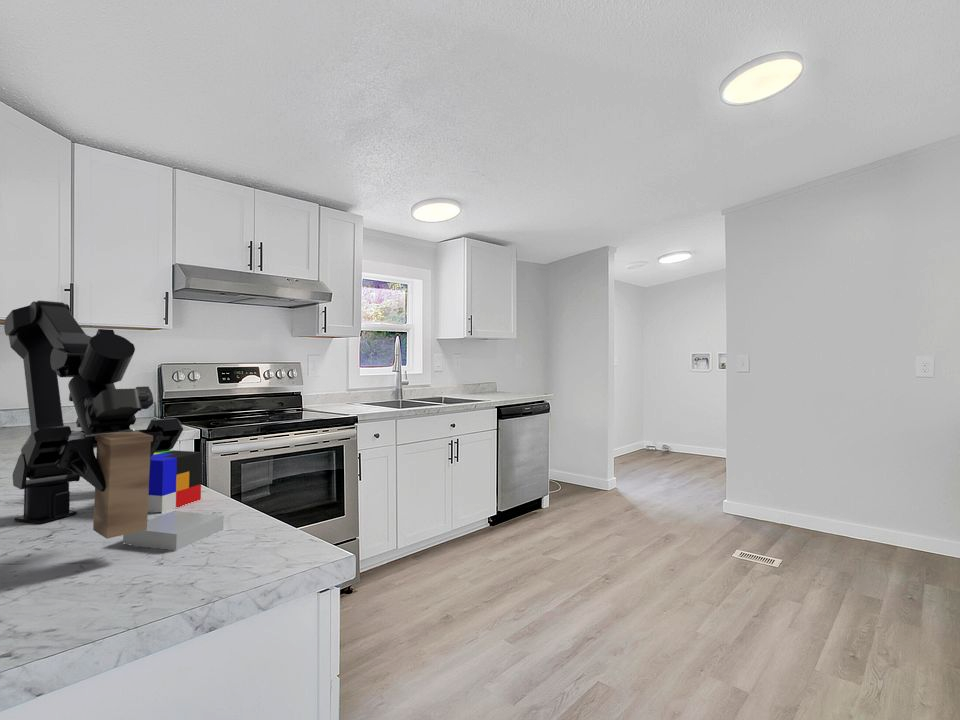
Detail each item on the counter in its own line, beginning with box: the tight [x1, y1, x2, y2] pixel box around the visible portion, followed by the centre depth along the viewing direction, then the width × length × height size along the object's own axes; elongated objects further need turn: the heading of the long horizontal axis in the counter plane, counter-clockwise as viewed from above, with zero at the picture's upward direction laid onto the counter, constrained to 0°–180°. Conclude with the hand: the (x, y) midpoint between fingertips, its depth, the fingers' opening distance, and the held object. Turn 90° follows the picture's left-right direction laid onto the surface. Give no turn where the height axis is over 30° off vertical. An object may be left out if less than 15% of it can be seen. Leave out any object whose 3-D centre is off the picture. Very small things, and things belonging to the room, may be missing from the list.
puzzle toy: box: [148, 449, 203, 513], centre depth 103 cm, size 10×10×10 cm
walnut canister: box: [92, 431, 153, 540], centre depth 74 cm, size 5×5×14 cm
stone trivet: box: [122, 510, 225, 551], centre depth 84 cm, size 10×10×3 cm
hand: (125, 486), depth 74 cm, fingers closed on walnut canister, 5 cm apart
